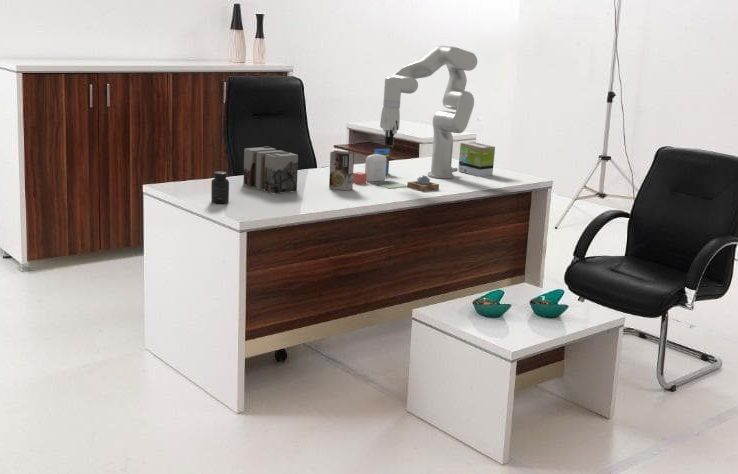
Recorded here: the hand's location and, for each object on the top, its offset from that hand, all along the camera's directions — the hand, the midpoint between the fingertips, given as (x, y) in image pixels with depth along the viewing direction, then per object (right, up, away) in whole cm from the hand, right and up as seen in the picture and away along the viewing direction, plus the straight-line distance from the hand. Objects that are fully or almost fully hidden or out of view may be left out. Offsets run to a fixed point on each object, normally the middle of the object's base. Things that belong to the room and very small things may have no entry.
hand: (388, 145), depth 411 cm
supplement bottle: (-67, -28, -56) cm, 92 cm away
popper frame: (+15, -20, -4) cm, 25 cm away
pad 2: (+3, -19, -3) cm, 19 cm away
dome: (+15, -19, -4) cm, 25 cm away
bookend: (-52, -21, -21) cm, 60 cm away
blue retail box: (-4, -11, +27) cm, 29 cm away
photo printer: (-6, -16, +8) cm, 19 cm away
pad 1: (-2, -17, +2) cm, 18 cm away
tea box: (+44, -10, +42) cm, 62 cm away
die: (-13, -17, +1) cm, 22 cm away
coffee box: (-21, -21, -15) cm, 33 cm away
